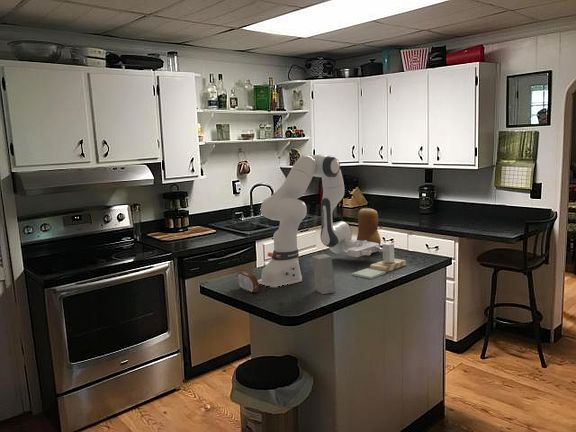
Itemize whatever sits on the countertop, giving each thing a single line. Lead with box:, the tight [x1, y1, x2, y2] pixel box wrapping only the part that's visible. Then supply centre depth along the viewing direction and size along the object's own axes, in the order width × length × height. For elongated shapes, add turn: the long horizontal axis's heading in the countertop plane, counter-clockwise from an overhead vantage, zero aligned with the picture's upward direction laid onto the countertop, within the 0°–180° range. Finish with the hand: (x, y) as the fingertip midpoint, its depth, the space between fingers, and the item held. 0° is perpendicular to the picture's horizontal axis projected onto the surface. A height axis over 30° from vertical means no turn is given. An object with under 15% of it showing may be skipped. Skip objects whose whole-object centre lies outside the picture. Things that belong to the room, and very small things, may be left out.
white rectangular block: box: [381, 242, 395, 264], centre depth 245 cm, size 4×4×12 cm
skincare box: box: [311, 253, 336, 295], centre depth 212 cm, size 8×7×16 cm
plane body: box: [369, 258, 407, 274], centre depth 246 cm, size 17×9×2 cm, turn 133°
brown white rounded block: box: [237, 270, 260, 293], centre depth 220 cm, size 15×3×8 cm, turn 34°
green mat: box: [351, 267, 386, 280], centre depth 235 cm, size 11×11×1 cm
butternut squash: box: [356, 207, 382, 246], centre depth 279 cm, size 14×13×25 cm
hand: (376, 251), depth 251 cm, fingers open, 8 cm apart
